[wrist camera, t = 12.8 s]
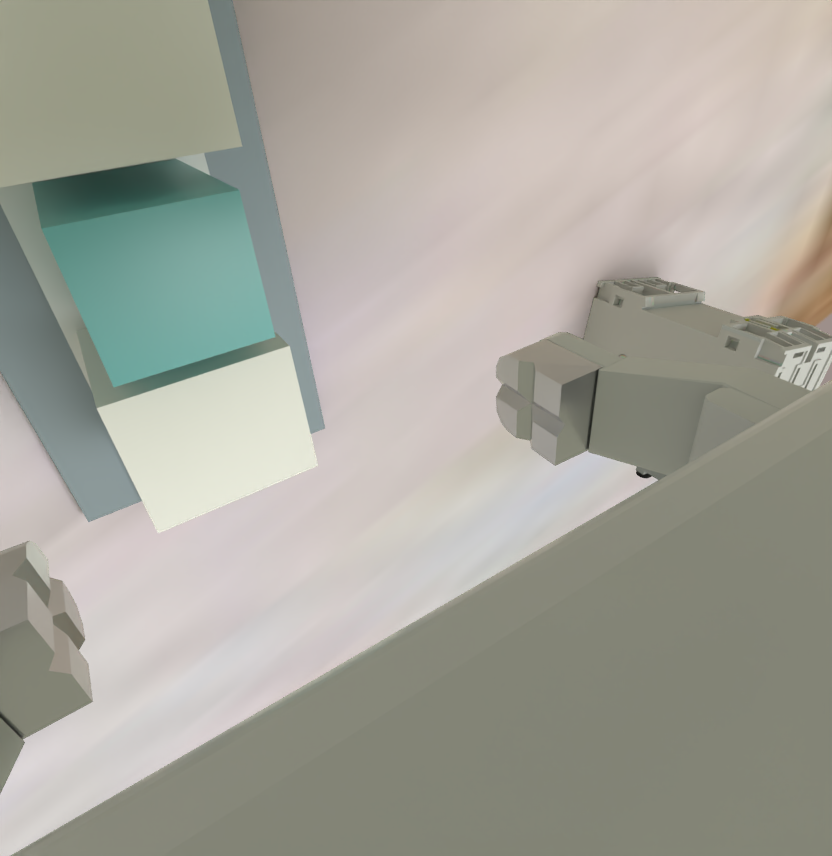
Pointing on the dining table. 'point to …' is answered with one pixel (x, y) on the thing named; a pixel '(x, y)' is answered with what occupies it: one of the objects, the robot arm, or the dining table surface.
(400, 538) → the dining table surface
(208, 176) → the block
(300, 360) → the mounting panel
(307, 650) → the dining table surface
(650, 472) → the circuit breaker
